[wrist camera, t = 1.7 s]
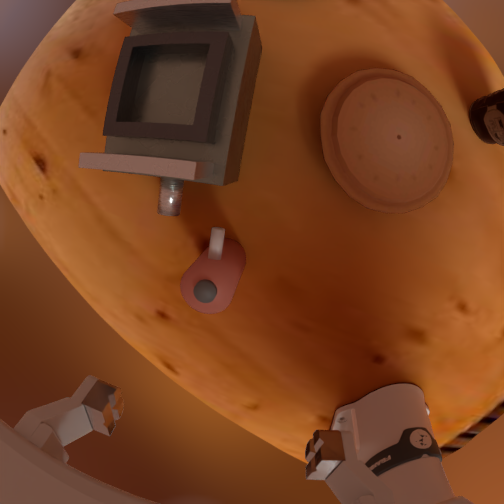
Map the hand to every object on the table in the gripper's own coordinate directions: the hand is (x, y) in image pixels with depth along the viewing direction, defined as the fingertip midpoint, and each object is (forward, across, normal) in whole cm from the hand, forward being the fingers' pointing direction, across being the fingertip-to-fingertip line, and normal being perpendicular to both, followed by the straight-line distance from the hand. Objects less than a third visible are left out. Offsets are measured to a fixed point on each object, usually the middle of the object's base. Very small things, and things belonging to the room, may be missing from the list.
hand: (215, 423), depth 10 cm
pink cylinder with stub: (+24, +3, +1) cm, 24 cm away
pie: (+24, -12, -15) cm, 31 cm away
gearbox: (+24, +9, -13) cm, 29 cm away
